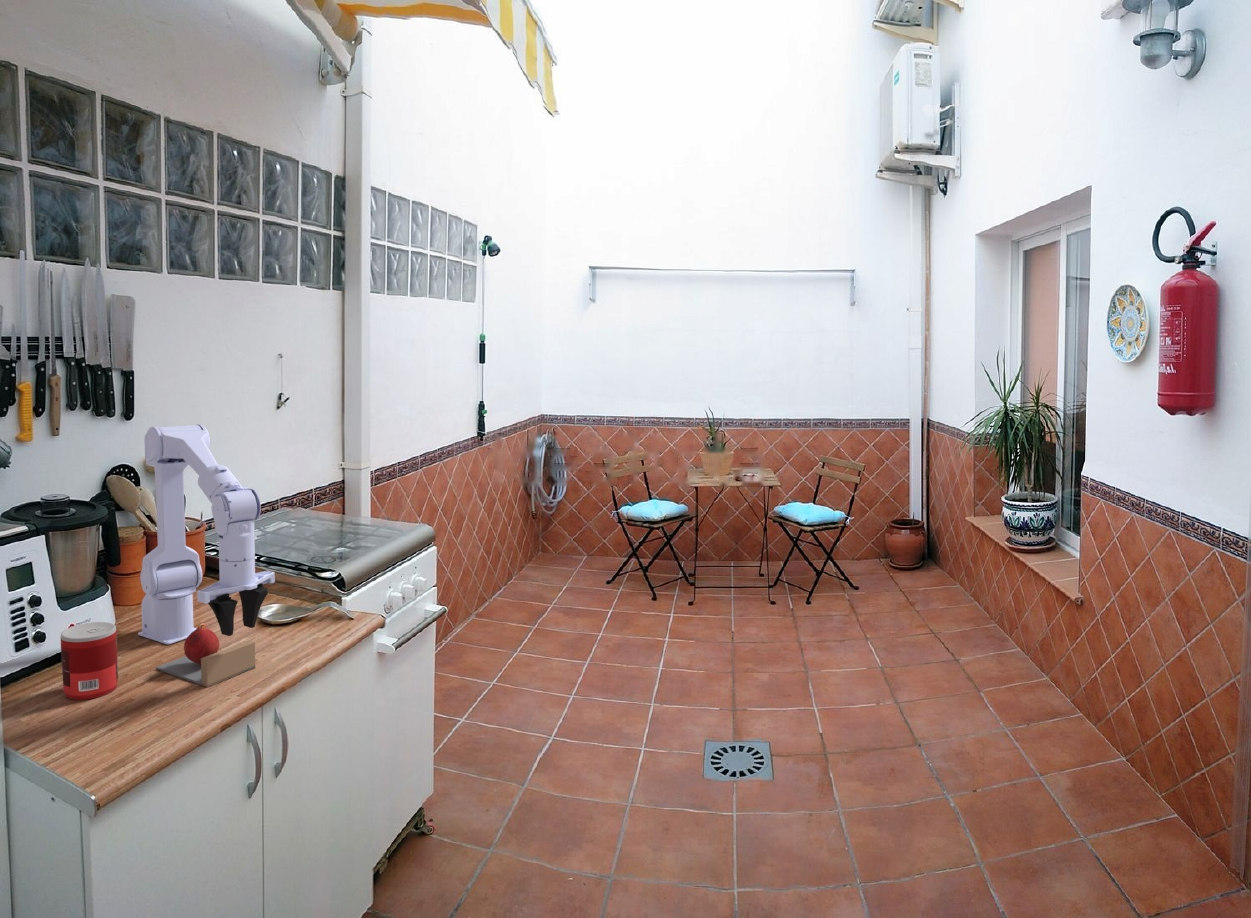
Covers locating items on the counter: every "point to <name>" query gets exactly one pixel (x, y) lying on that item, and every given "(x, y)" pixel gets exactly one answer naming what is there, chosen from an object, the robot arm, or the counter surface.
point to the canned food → (89, 660)
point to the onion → (201, 644)
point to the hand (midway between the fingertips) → (238, 630)
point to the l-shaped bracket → (214, 665)
